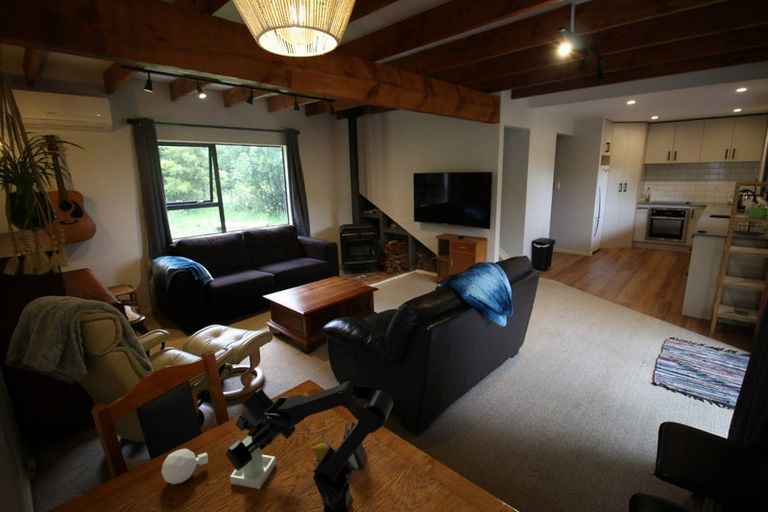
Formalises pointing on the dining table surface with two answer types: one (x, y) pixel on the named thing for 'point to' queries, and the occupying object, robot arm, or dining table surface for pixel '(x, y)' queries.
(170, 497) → the dining table surface
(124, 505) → the dining table surface
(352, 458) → the phone stand
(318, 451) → the drill bit
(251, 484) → the tray
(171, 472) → the perfume bottle
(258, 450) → the block
